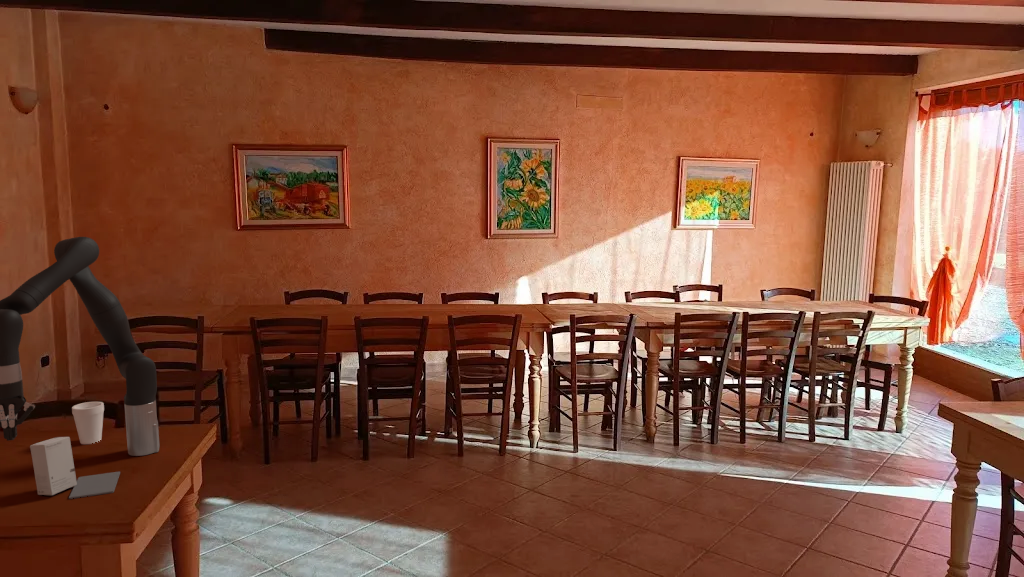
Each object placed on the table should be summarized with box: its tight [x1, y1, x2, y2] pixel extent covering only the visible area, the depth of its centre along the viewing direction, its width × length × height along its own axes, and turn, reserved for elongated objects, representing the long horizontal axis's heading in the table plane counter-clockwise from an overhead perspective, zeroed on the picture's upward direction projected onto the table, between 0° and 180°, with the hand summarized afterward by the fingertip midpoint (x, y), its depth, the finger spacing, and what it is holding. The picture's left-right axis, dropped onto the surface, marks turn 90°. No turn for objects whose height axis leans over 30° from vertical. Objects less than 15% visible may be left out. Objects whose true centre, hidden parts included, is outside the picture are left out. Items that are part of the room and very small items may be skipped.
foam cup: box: [71, 401, 105, 445], centre depth 239 cm, size 10×9×13 cm
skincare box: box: [29, 436, 77, 496], centre depth 198 cm, size 8×6×15 cm
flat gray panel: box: [68, 471, 121, 500], centre depth 202 cm, size 11×16×1 cm
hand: (10, 439), depth 192 cm, fingers closed
